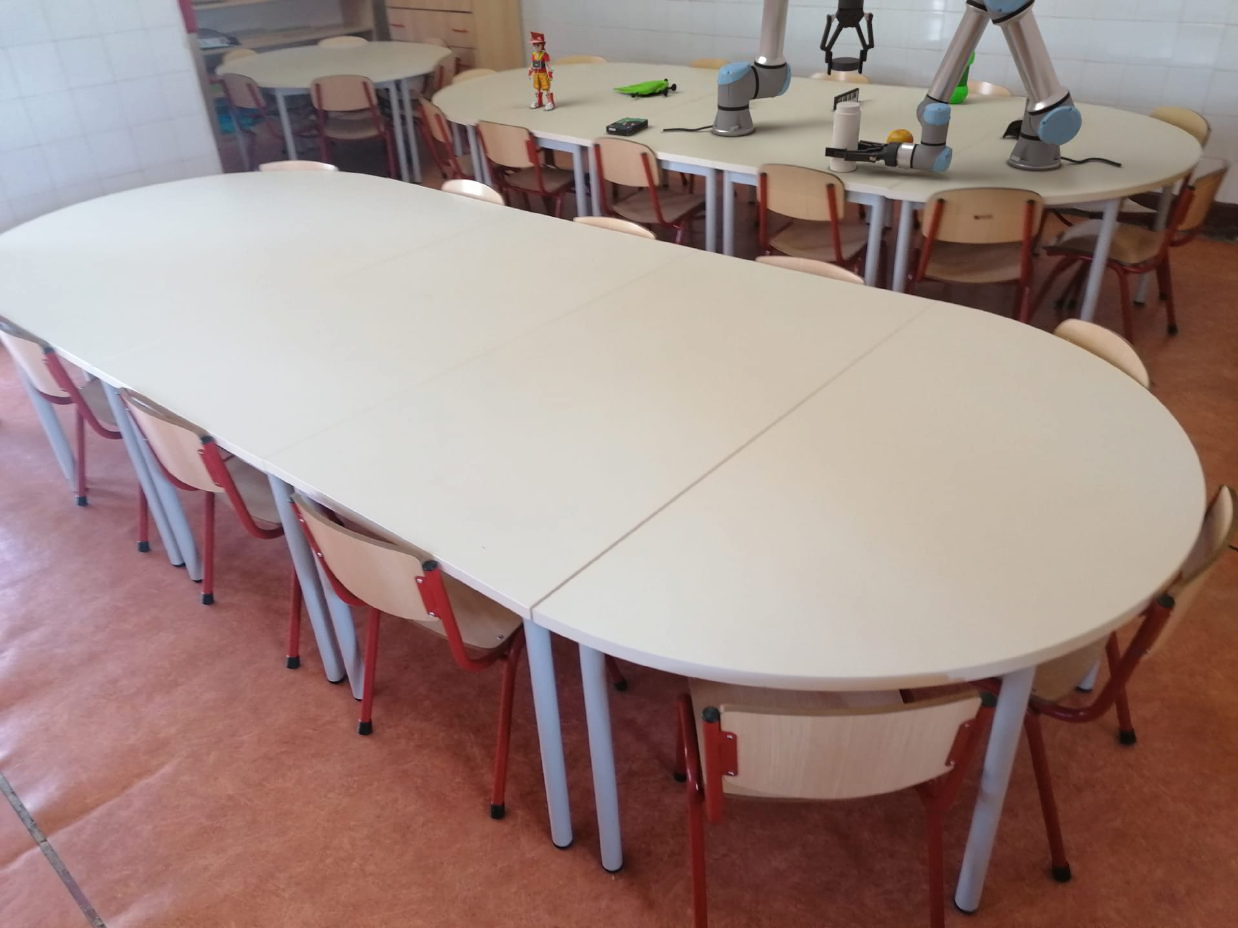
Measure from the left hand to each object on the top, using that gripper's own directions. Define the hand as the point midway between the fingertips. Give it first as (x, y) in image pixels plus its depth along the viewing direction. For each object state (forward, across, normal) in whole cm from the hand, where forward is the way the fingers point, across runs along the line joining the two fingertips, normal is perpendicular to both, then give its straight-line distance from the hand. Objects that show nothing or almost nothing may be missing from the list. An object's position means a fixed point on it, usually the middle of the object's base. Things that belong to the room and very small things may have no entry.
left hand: (844, 73), depth 280 cm
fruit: (+28, +23, +12) cm, 38 cm away
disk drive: (+30, -71, +54) cm, 94 cm away
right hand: (+22, -3, -2) cm, 23 cm away
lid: (-4, 0, 0) cm, 4 cm away
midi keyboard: (+29, +16, +77) cm, 84 cm away
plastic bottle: (+29, +58, +75) cm, 99 cm away
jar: (+28, +2, -4) cm, 29 cm away
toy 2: (+30, -67, +117) cm, 138 cm away
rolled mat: (+28, +74, +31) cm, 85 cm away
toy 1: (+30, -108, +97) cm, 149 cm away
